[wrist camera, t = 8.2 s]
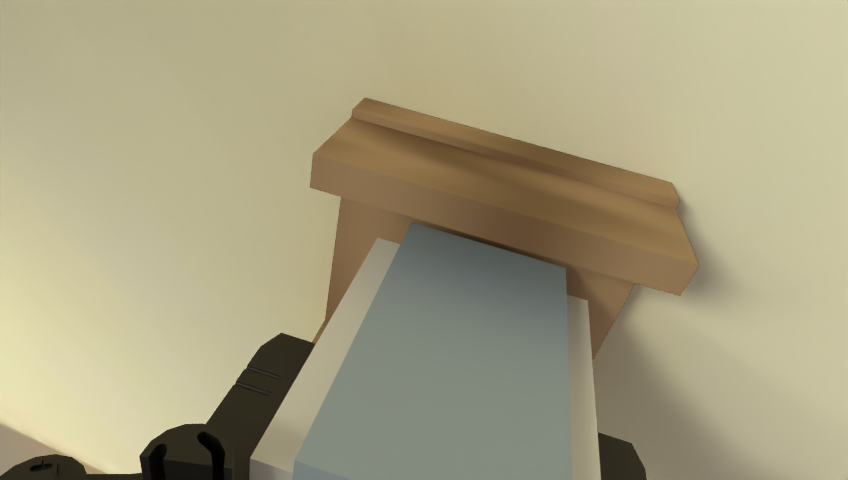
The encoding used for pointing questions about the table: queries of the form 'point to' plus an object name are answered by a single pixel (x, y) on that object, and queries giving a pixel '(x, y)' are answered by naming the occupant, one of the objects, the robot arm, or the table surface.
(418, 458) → the blue gray block
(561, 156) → the wooden block holder
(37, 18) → the table surface
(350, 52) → the table surface
